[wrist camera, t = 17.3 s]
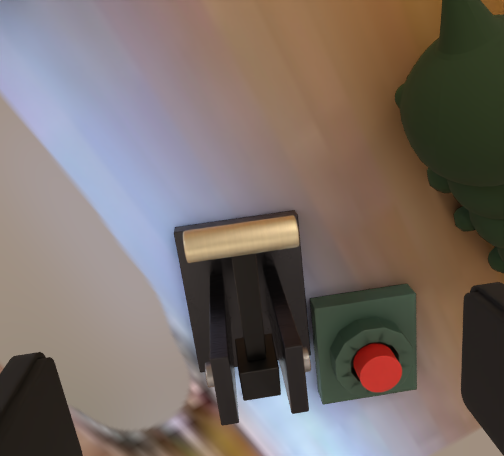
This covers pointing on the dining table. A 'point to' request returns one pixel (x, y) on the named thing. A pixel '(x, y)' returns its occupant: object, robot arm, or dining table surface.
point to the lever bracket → (229, 321)
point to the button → (377, 367)
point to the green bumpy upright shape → (462, 117)
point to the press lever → (247, 290)
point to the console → (362, 338)
